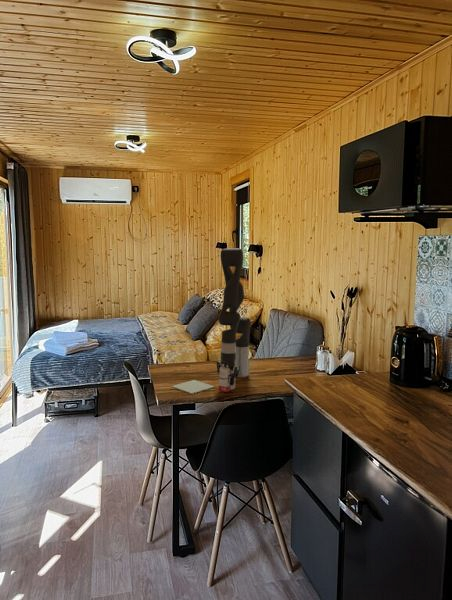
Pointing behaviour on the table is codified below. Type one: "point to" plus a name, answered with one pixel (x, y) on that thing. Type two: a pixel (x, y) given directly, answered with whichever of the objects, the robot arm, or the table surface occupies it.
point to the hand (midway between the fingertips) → (227, 383)
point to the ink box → (225, 380)
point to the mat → (193, 386)
